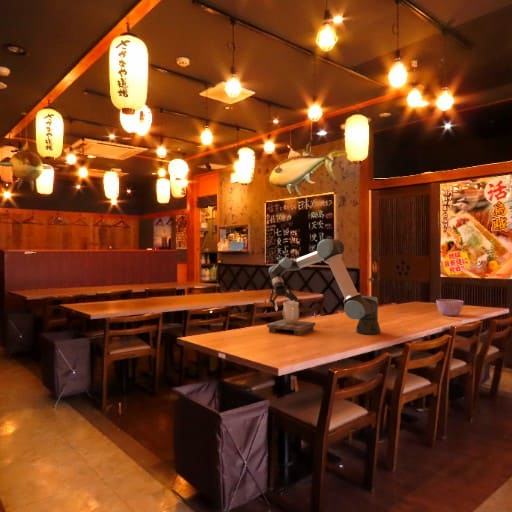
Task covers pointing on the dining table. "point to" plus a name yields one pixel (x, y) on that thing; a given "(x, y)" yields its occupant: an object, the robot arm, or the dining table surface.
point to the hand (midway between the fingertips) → (286, 309)
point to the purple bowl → (449, 306)
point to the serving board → (291, 326)
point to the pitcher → (290, 312)
